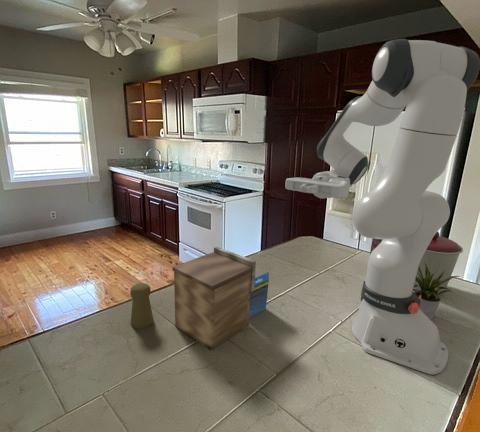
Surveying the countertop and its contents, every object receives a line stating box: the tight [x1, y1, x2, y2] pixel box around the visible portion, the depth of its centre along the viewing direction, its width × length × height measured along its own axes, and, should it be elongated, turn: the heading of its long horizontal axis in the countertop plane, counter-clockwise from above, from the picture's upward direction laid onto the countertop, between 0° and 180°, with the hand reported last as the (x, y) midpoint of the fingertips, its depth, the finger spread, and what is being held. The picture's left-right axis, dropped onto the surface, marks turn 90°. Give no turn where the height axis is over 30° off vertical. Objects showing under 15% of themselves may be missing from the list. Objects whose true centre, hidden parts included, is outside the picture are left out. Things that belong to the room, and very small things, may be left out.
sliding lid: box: [172, 246, 257, 292], centre depth 81 cm, size 14×16×9 cm
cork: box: [129, 282, 154, 330], centre depth 84 cm, size 6×6×11 cm
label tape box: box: [249, 271, 270, 319], centre depth 90 cm, size 9×4×12 cm, turn 135°
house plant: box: [413, 263, 460, 320], centre depth 93 cm, size 14×14×16 cm
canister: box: [413, 230, 464, 294], centre depth 109 cm, size 18×18×21 cm
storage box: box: [173, 271, 251, 351], centre depth 83 cm, size 14×14×16 cm
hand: (303, 189), depth 95 cm, fingers closed
